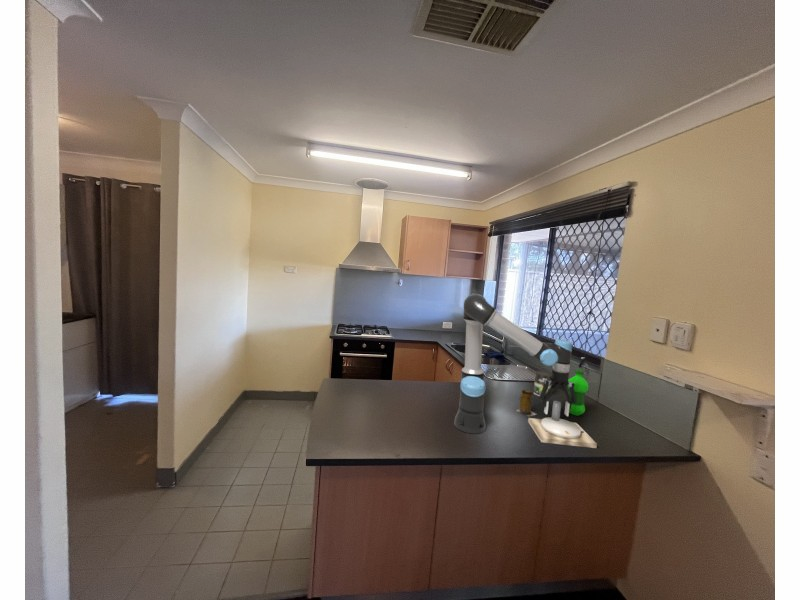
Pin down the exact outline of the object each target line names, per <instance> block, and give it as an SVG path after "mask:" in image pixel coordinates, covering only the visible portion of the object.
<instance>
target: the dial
mask: <svg viewBox="0 0 800 600" xmlns="http://www.w3.org/2000/svg"><path fill="white" fill-rule="evenodd" d="M552 402H553V403H552V409H551V410H552V411H551V417H549V416H548V417H544V418H541V419H542V422H541V426H542V428H543V429H544V430H545V431H547V432H548V433H550V434H552V435H555V436H558V437H562V438H567V439H576V438H579V437H580V434H581V429H580V428H579V427H578V426H577V425H575V424H574V423H575V422H573V423H572V421H569V420H567V419H562V418H560V417H561V410H562V402H561V401H559V400H553V401H552Z"/></svg>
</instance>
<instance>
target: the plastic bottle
mask: <svg viewBox="0 0 800 600" xmlns="http://www.w3.org/2000/svg"><path fill="white" fill-rule="evenodd" d="M584 372H585V371H584V370H582V369H580V368H579V369H578V368H577V369H575V370H574V374H575V375H574V376H572V377H569V379H568V382H573V383H574V384H575V386H574V391H575V398H576V403H573V404H571V409H569V414H570V415H573V416H577V417H579V416H580V415H583V414H584V413H585V411H586V406H585V395H586V392H588V391H589V383H588V381H587V380H585V378H584V377H583V375H584ZM567 389H569V390H568V394H569V396H570V398H571V394H570V388H569V384H568V385H567ZM566 402H568V401H566Z"/></svg>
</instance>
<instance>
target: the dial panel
mask: <svg viewBox="0 0 800 600" xmlns="http://www.w3.org/2000/svg"><path fill="white" fill-rule="evenodd" d="M542 419H543V418H532V417H528V419H527V423H528V424H529V425H530V427H531V428H532V430H533V431H534V433H535V435H536V436H537V438H538V440H540V442H541V443H545V444H554V445H564V446H565V445H566V446H573V447H584V448H592V449H597V446H598V442H596V441H595V440H594V439H593V438H592V437H591V436H590V435H589V434H588V433H587V432H586V431H585V430H584V429H583V428H582V426H580V425H579V424H578V423H577V422H572V421H571V422H572V423H574V424H575V425H577V426H578V427H579V428H580V429H581V434H580V437H579V438H576V439H567V438H562V437H558V436H555V435H552V434H550V433H548V432H547V431H545V430H544V429H543V428H542V426H541V422H542Z"/></svg>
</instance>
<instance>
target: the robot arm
mask: <svg viewBox="0 0 800 600" xmlns="http://www.w3.org/2000/svg"><path fill="white" fill-rule="evenodd" d="M463 320H464V322H465V349H464V367H462V368H461V375H460V377H461V378H460V390H459V404H458V405H459V406H458V410H457V413H456V414H455V417H454V422H453V425H454V427H455V428H457V430H459V431H461V432H464V433H467V434H482V433H484V432H485V431H486V427H487V425H486V424H487V423H486V420H485V415H484V406H485V405H484V404H485V397H486V396H485V394H486V392H485V391H486V382H485V380H484V379H485V371H484V370H483V368H482V356H483V335H484V326H488V327H490V328H491V329H493V330H494V331H495V332H497V333H499V334H500V335H501V336H503V337H504V338H506V339H507V340H508V341H511V342H512V343H514V344H515V345H516V346H518V347H519V348H521V349H523V350H524V351H525V352H527V353H528V355H529V356H530V357H534V358H535V359H537V360H538V361H540V363H541V364H542V365H544V366H546V367H552V371H551V374H552V378H551V380H544V386H543V389H542V392H541V394H540V396H539V398H540V400H542V407H544V410H543V413H544V414H545V415H548V412H549V402H550V401H549V399H550V398H551V396H552V395H553V393H554V392H555V391H556V390H562V392H563V394H564V396H565V398H566V400H567V401H568V402H567V401H565V404H564V405H565V407H564V415H565V416H566V417H569V414H570V412H569V409H571V404H573V403H576V398H575V391H574V386H575V384H574V383H573V382H568V380H569V379H570V373H569V372H570V368H571V359H572V351H573V343H572V341H570V340H567V339H556V340H555V341H554V343H551V342H542V341H540V340H539V339H537V338H536V337H534V336H533V335H532V334H530V333H529V332H527V331H526V330H525V329H523V328H521V327H520V326H518V325H517V324H515V323H513V322H512V321H510V320H509V319H508V318H506V317H504V316H503V315H502V314H500V313H498V312H497V308H495V307H494V306H492V305H491V304H490V303H489V302H488V301H487V299H486V297H484V295H482V294H479V293H471V294H469V295H467V296H466V297H465V299H464V301H463ZM550 383H551V384H552V385H551V387H550V389H549V390H548V392H547V389H548V386H549V385H550ZM568 384H569V388H570V394H571V398H570V396H569V391H568V389H569V388H567V387H568ZM546 392H547V393H546ZM545 394H546V395H545Z"/></svg>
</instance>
